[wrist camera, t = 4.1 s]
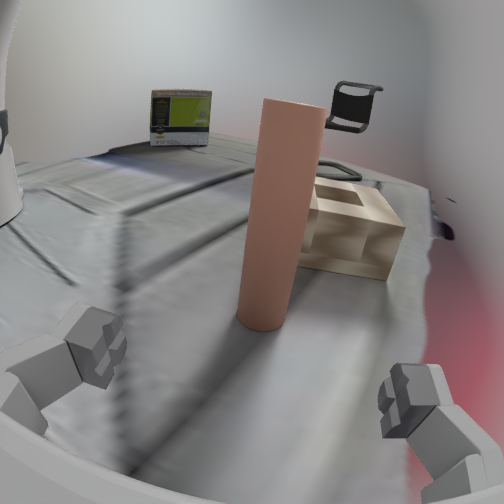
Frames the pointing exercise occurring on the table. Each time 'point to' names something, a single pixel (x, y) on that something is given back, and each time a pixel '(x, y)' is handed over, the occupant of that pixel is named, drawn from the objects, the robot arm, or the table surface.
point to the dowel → (278, 209)
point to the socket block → (350, 231)
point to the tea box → (180, 117)
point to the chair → (352, 111)
